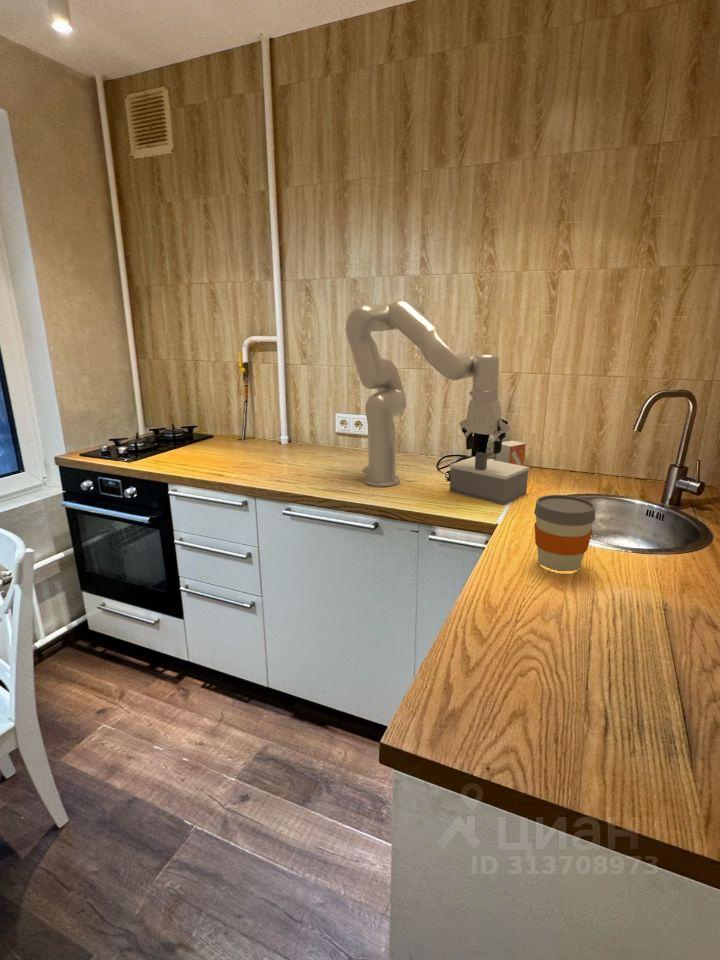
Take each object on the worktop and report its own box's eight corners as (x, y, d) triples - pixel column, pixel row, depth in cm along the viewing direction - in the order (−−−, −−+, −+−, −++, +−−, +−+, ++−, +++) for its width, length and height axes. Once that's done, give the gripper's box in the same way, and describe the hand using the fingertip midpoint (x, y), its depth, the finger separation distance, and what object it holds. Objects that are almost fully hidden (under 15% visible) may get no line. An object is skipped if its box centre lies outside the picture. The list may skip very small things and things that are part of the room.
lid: (449, 467, 167) (449, 449, 165) (473, 459, 177) (474, 442, 175) (505, 479, 153) (506, 460, 152) (528, 470, 163) (530, 451, 161)
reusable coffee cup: (583, 583, 109) (591, 517, 104) (523, 569, 115) (528, 507, 111) (592, 560, 119) (600, 499, 114) (537, 549, 125) (542, 491, 121)
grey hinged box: (449, 491, 170) (450, 468, 167) (473, 482, 179) (474, 460, 177) (503, 505, 156) (505, 480, 154) (526, 494, 166) (528, 470, 163)
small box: (507, 482, 178) (510, 446, 174) (494, 478, 183) (496, 443, 179) (523, 478, 182) (526, 443, 178) (509, 474, 187) (511, 440, 183)
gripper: (454, 395, 158) (453, 449, 163) (504, 399, 146) (501, 457, 151) (467, 393, 163) (466, 445, 168) (517, 396, 152) (514, 452, 156)
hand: (483, 451), depth 160 cm, fingers open, 9 cm apart
